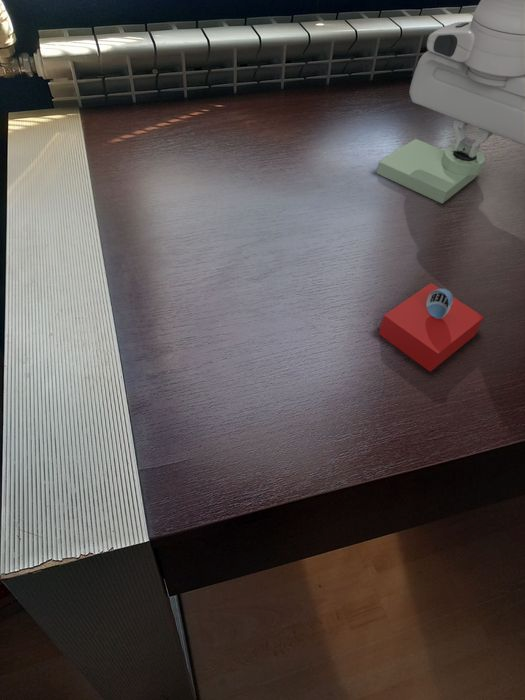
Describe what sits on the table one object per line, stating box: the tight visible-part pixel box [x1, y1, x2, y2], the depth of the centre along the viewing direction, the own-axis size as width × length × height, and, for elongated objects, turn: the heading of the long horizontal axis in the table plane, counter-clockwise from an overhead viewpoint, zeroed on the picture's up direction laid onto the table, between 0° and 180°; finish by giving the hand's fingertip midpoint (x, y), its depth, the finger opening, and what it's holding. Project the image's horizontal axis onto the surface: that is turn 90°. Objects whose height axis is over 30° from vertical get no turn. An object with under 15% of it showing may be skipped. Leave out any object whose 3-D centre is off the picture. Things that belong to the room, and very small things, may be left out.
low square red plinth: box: [378, 282, 485, 373], centre depth 55 cm, size 8×7×6 cm
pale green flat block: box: [376, 138, 486, 204], centre depth 78 cm, size 12×11×4 cm
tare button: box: [454, 152, 475, 161], centre depth 77 cm, size 3×3×2 cm
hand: (464, 153), depth 77 cm, fingers closed, pressing on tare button
